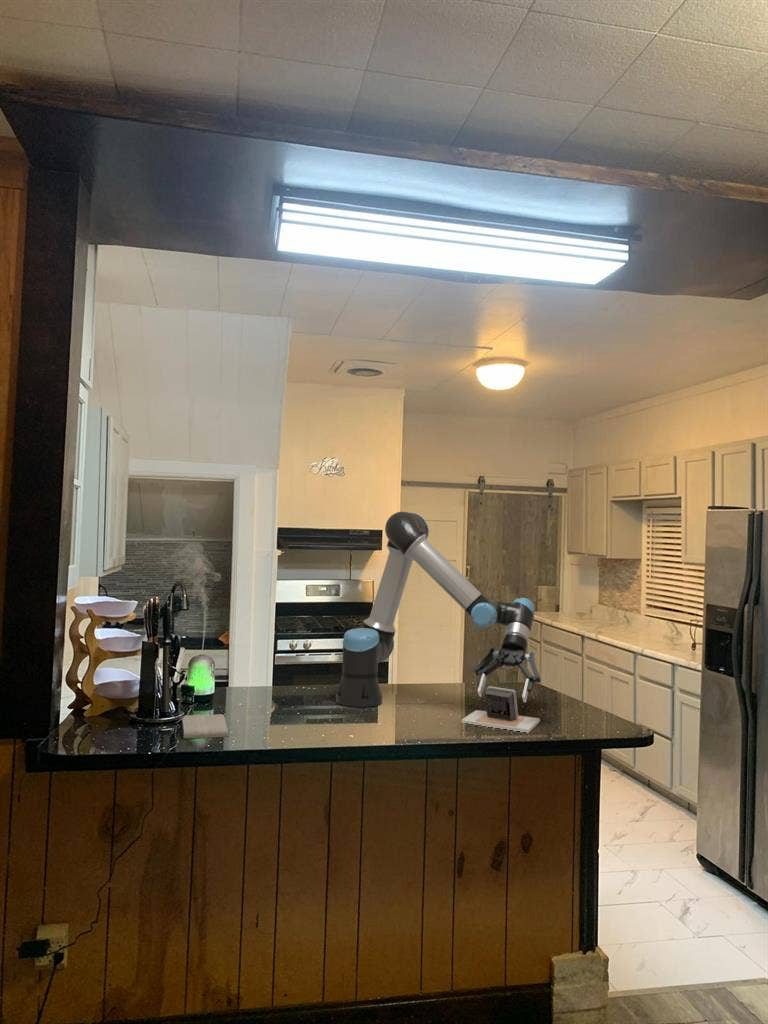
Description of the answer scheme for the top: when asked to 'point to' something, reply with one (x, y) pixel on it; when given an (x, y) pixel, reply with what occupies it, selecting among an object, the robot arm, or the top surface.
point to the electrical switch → (501, 703)
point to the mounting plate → (501, 722)
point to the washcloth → (204, 726)
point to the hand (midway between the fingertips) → (501, 696)
